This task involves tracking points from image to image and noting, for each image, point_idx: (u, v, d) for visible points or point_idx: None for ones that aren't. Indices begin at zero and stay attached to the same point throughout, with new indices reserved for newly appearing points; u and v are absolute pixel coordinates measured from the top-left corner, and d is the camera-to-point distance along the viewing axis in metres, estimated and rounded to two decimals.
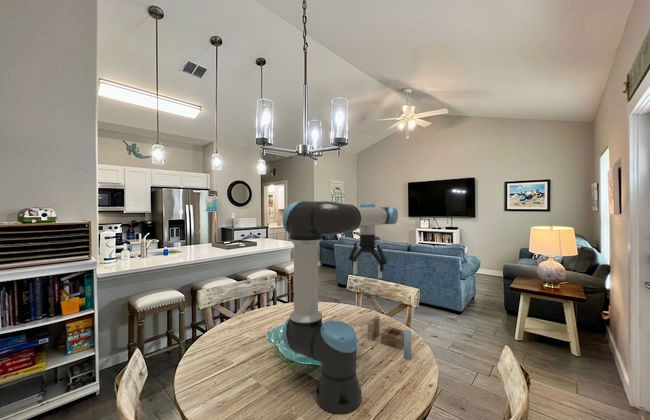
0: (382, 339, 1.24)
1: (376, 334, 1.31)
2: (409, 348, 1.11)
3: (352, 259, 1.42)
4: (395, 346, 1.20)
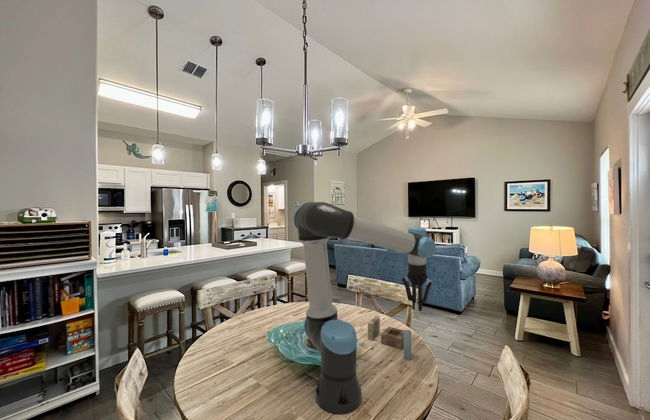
0: (382, 339, 1.24)
1: (376, 334, 1.31)
2: (409, 348, 1.11)
3: (412, 300, 1.19)
4: (395, 346, 1.20)
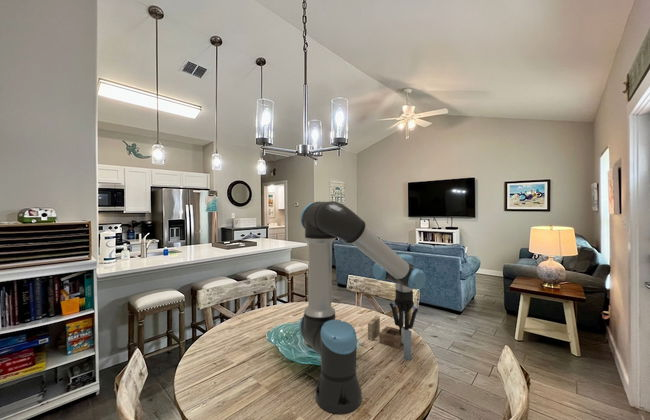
0: (380, 338, 1.24)
1: (376, 334, 1.31)
2: (409, 348, 1.11)
3: (399, 325, 1.23)
4: (393, 345, 1.21)
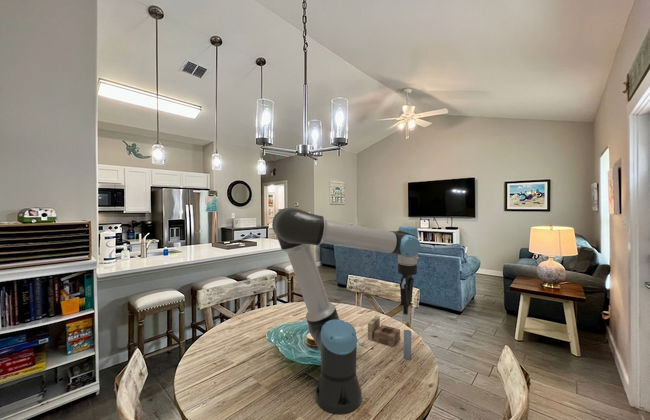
0: (375, 337, 1.26)
1: None
2: (409, 348, 1.11)
3: None
4: (388, 344, 1.22)
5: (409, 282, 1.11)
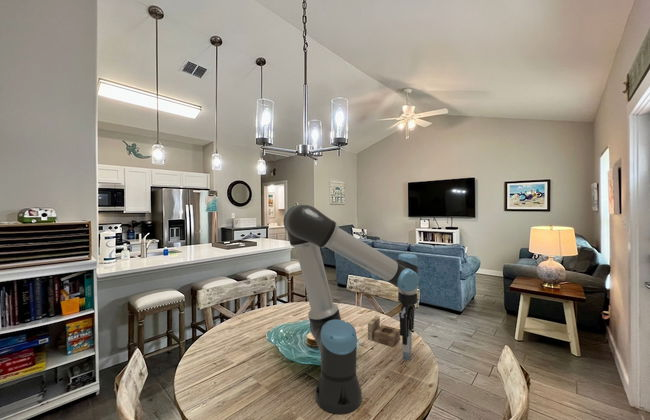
0: (375, 337, 1.26)
1: None
2: (409, 347, 1.11)
3: None
4: (388, 344, 1.22)
5: (409, 311, 1.10)
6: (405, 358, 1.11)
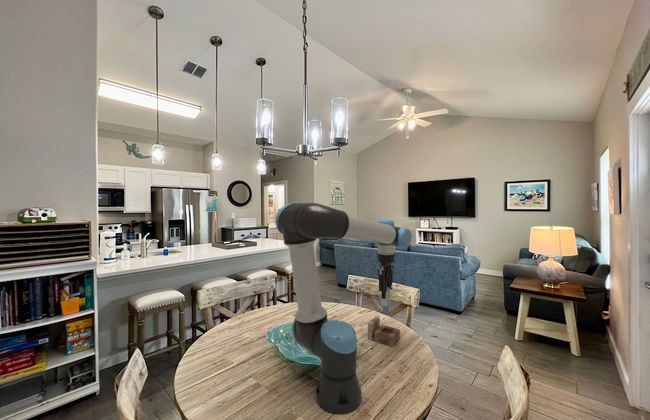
0: (375, 337, 1.26)
1: None
2: (387, 302, 1.26)
3: None
4: (388, 344, 1.22)
5: (387, 269, 1.25)
6: (384, 311, 1.26)
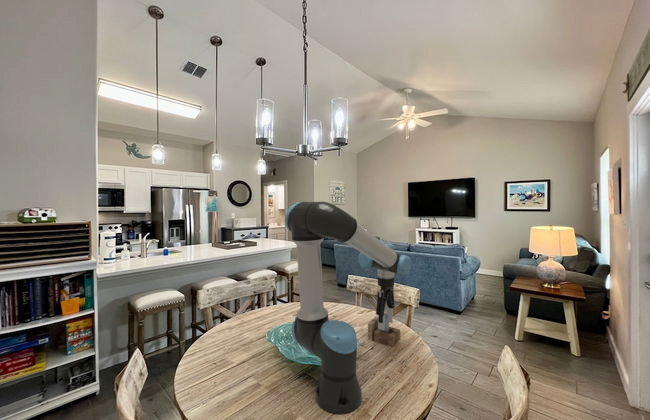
0: (375, 337, 1.26)
1: None
2: (387, 329, 1.26)
3: None
4: (388, 344, 1.22)
5: (387, 293, 1.25)
6: None
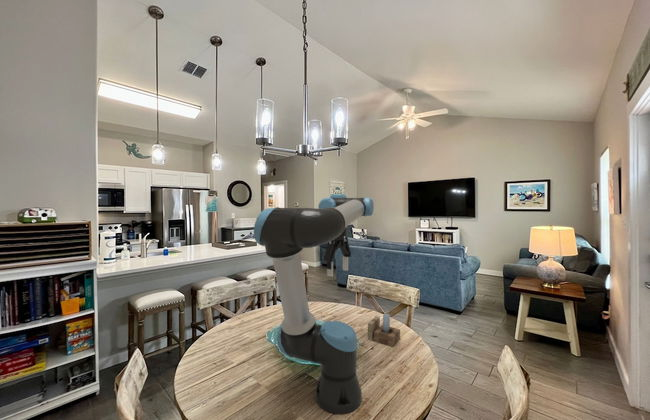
0: (375, 337, 1.26)
1: None
2: (387, 329, 1.26)
3: None
4: (388, 344, 1.22)
5: (338, 242, 1.26)
6: None
